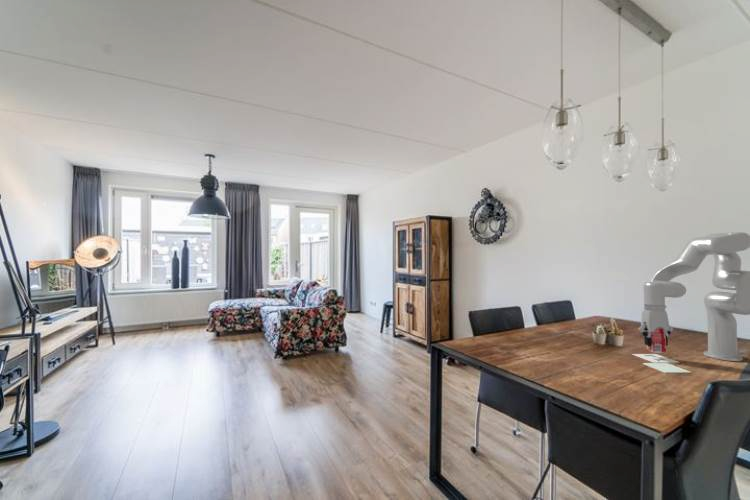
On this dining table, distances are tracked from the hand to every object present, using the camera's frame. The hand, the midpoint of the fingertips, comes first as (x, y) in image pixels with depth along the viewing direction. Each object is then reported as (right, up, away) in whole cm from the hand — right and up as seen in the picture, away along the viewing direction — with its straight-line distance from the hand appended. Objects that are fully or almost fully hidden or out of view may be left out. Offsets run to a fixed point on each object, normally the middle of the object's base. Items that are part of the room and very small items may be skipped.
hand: (656, 344), depth 150 cm
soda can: (0, -3, 0) cm, 3 cm away
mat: (-8, -6, -13) cm, 16 cm away
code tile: (-1, -6, 0) cm, 7 cm away
